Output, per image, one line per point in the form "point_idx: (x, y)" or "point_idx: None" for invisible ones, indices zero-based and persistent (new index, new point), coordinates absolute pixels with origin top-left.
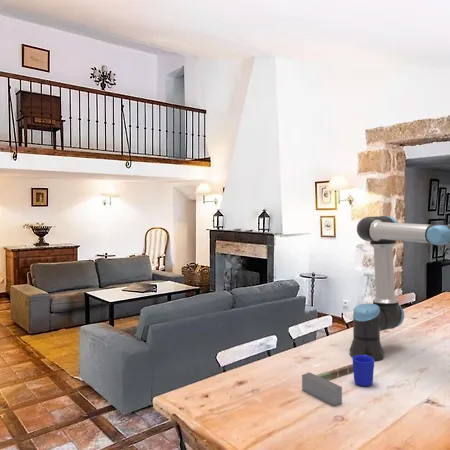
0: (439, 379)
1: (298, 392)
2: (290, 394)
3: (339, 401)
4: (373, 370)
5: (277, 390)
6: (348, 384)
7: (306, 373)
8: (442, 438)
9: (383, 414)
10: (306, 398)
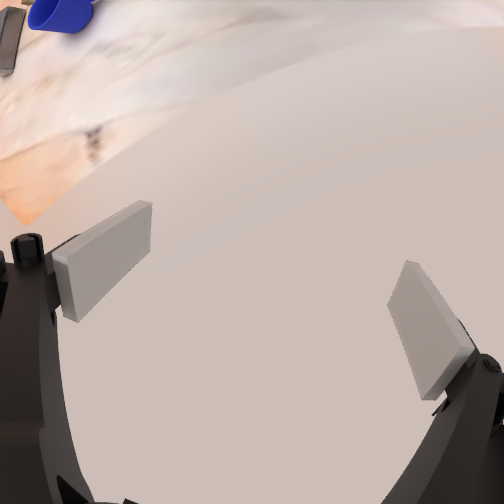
0: (223, 77)
1: None
2: None
3: (6, 74)
4: (63, 24)
5: None
6: None
7: (3, 9)
8: (30, 218)
9: (21, 128)
10: None
